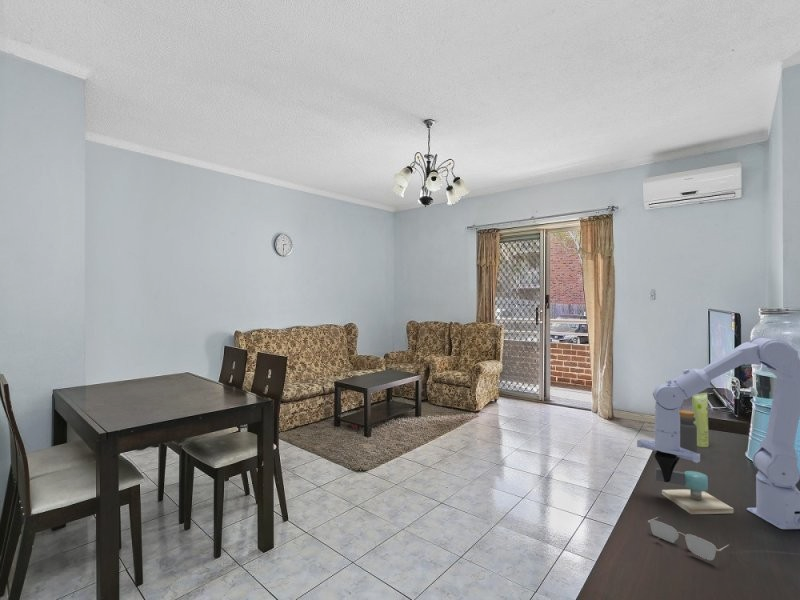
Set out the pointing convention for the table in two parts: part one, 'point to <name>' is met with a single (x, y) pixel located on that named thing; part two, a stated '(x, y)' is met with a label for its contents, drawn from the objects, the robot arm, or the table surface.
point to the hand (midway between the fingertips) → (667, 481)
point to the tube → (701, 418)
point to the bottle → (688, 431)
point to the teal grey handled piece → (686, 479)
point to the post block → (697, 502)
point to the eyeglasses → (693, 542)
